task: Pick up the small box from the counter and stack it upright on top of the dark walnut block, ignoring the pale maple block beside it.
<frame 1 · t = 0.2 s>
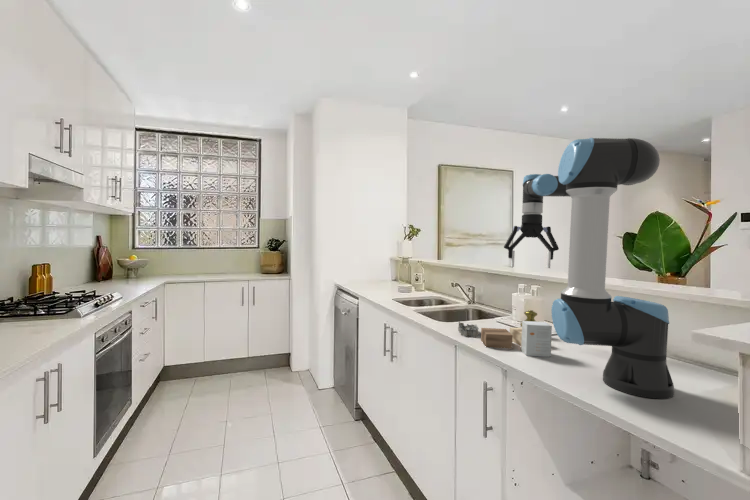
hand: (530, 267, 144), 27 cm above the countertop, tool pointing down, fingers open, 13 cm apart
maple block: (526, 343, 134), on the countertop
walnut block: (495, 345, 131), on the countertop
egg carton: (468, 334, 146), on the countertop
olive-gold lumpy piece: (529, 335, 146), on the countertop
small box: (535, 354, 121), on the countertop
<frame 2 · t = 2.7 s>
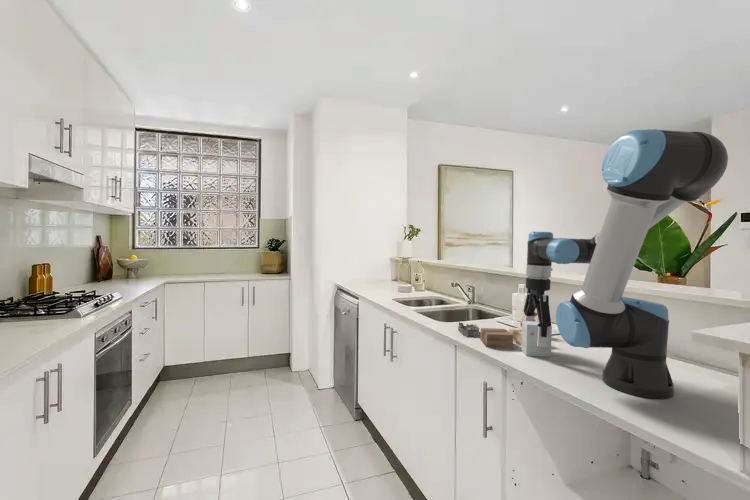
hand: (535, 340, 121), 4 cm above the countertop, tool pointing down, fingers open, 13 cm apart
maple block: (526, 344, 134), on the countertop, touching gripper
everything else where it was.
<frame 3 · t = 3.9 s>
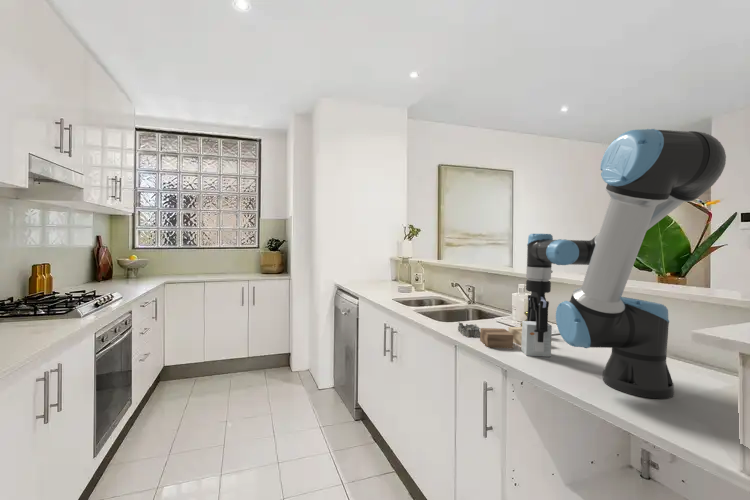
hand: (535, 348, 121), 2 cm above the countertop, tool pointing down, fingers closed on small box, 6 cm apart
maple block: (525, 343, 134), on the countertop
small box: (535, 354, 121), on the countertop, touching gripper
everything else where it was.
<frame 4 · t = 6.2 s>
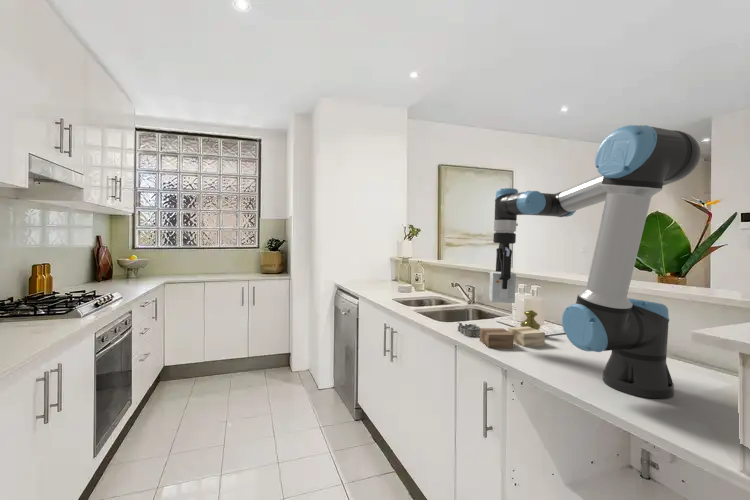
hand: (501, 296, 130), 18 cm above the countertop, tool pointing down, fingers closed on small box, 6 cm apart
small box: (501, 301, 130), point 16 cm above the countertop, touching gripper
everything else where it was.
when the fingers open (8 cm above the countertop, at t = 8.7 s): small box drops 1 cm, point 4 cm above the countertop.
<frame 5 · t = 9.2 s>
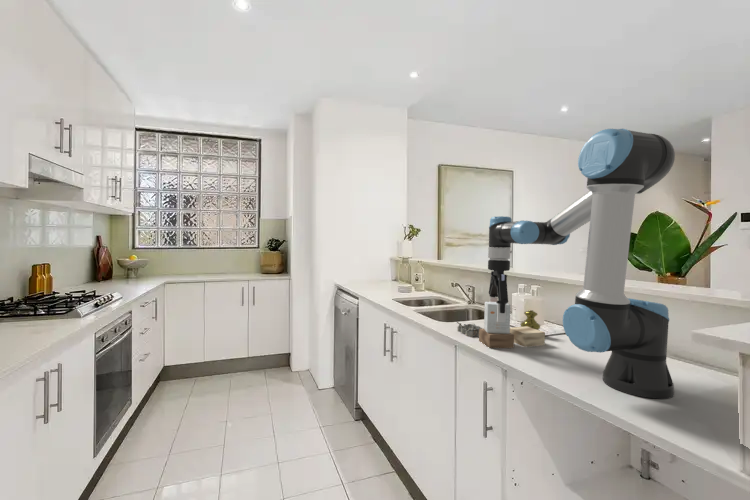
hand: (496, 318, 131), 10 cm above the countertop, tool pointing down, fingers open, 13 cm apart
small box: (496, 332, 130), point 4 cm above the countertop
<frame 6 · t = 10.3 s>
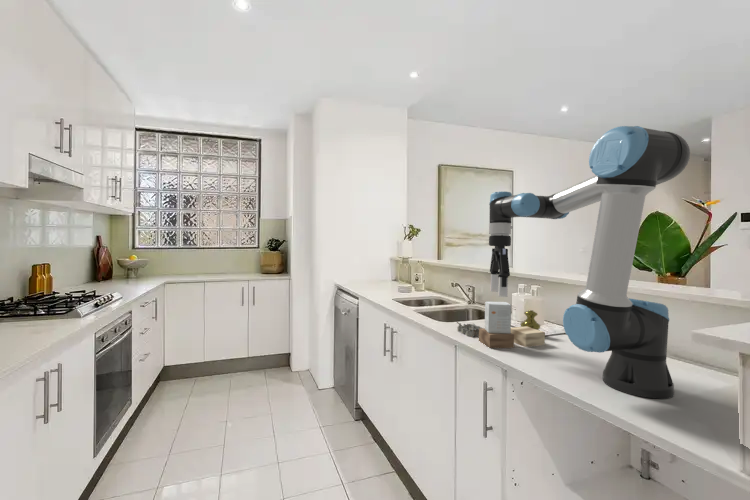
hand: (498, 293, 130), 18 cm above the countertop, tool pointing down, fingers open, 13 cm apart
walnut block: (495, 345, 131), on the countertop, touching small box
small box: (497, 332, 131), point 5 cm above the countertop, touching walnut block
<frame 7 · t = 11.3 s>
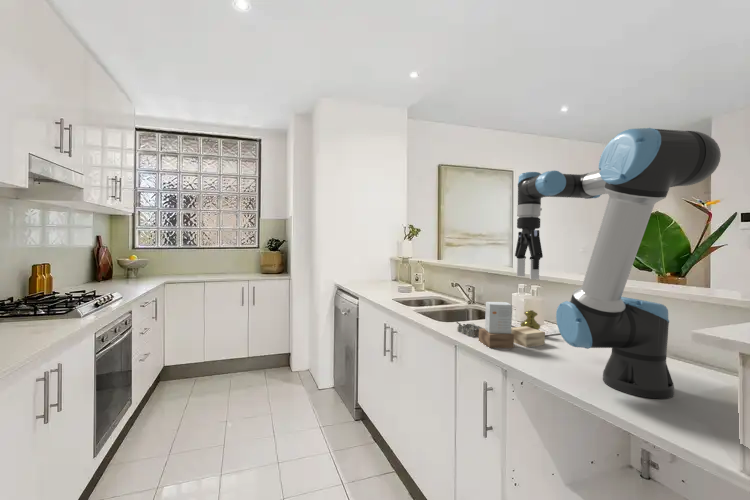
hand: (527, 277, 126), 25 cm above the countertop, tool pointing down, fingers open, 13 cm apart
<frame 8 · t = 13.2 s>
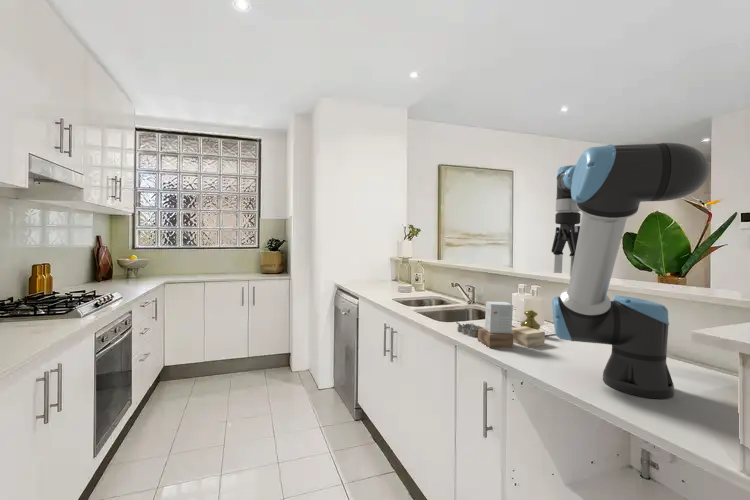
hand: (565, 274, 123), 27 cm above the countertop, tool pointing down, fingers open, 13 cm apart
at the end: small box inside the target area on the walnut block (0.8 cm from its centre), point 4.8 cm above the walnut block's base; small box tilted 0°; the gripper is holding nothing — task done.
